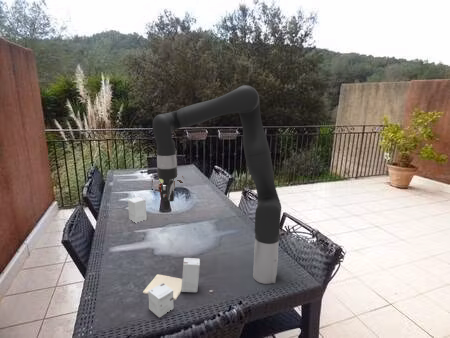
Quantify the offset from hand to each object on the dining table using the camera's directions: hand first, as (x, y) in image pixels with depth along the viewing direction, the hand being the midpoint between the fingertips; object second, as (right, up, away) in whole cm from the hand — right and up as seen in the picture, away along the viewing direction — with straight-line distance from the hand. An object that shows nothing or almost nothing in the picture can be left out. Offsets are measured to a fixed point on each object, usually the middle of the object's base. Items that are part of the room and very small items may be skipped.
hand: (169, 204), depth 115 cm
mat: (0, -30, -7) cm, 31 cm away
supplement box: (-28, -15, +49) cm, 58 cm away
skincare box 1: (+1, -33, -18) cm, 38 cm away
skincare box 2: (+9, -31, -8) cm, 33 cm away
